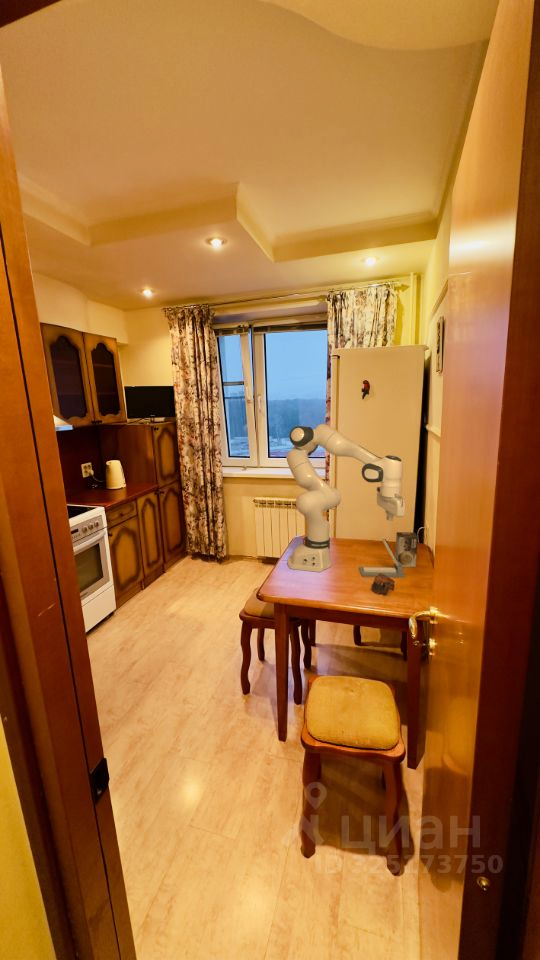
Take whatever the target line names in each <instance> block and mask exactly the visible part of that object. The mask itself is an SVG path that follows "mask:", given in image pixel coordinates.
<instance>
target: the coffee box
mask: <svg viewBox="0 0 540 960" xmlns="http://www.w3.org/2000/svg"><path fill="white" fill-rule="evenodd" d="M395 536H396V537H395V549H394V550H395V553H394V557H395V559H396V560H397V562H400V567H403V568H405V567H406V568H408V567H409V568H416V567H417V555H418V543H419V537H418V535H417V534H416V532H413V531H408V532H407V531H406V532H405V531H403V532H402V531H400V532H399V531H397V532H396V535H395Z"/></svg>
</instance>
